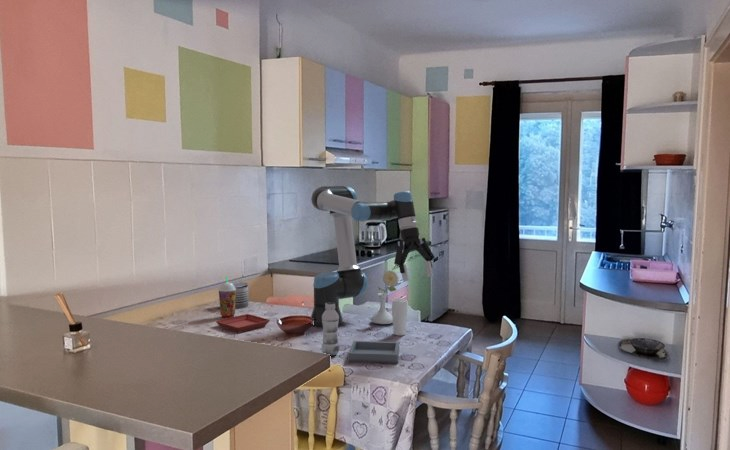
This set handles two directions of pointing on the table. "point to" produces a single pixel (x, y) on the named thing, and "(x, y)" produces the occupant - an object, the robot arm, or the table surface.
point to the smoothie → (227, 299)
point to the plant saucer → (242, 322)
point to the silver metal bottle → (330, 330)
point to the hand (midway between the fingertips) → (418, 278)
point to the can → (241, 295)
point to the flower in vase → (382, 315)
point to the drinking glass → (399, 316)
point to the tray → (374, 352)
